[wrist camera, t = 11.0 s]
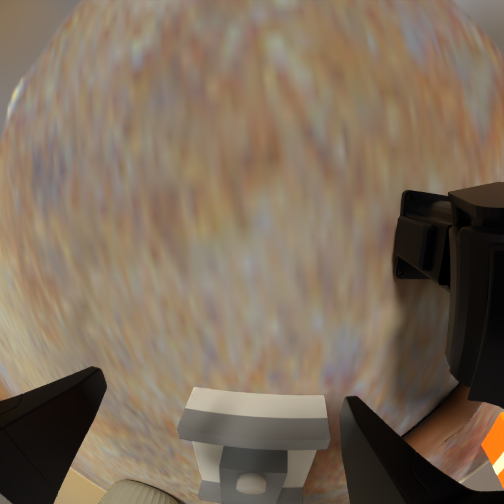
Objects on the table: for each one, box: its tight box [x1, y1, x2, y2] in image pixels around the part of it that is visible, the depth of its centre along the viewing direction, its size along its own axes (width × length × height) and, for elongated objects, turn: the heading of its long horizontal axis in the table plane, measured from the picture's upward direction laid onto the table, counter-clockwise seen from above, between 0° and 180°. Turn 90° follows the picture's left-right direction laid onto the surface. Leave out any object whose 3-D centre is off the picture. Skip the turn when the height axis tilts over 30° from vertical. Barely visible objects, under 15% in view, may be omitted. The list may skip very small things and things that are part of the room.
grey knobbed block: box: [219, 446, 288, 504], centre depth 19 cm, size 10×6×5 cm, turn 176°
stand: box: [177, 387, 331, 504], centre depth 22 cm, size 12×16×6 cm
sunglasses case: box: [402, 383, 483, 458], centre depth 21 cm, size 18×7×7 cm, turn 146°
